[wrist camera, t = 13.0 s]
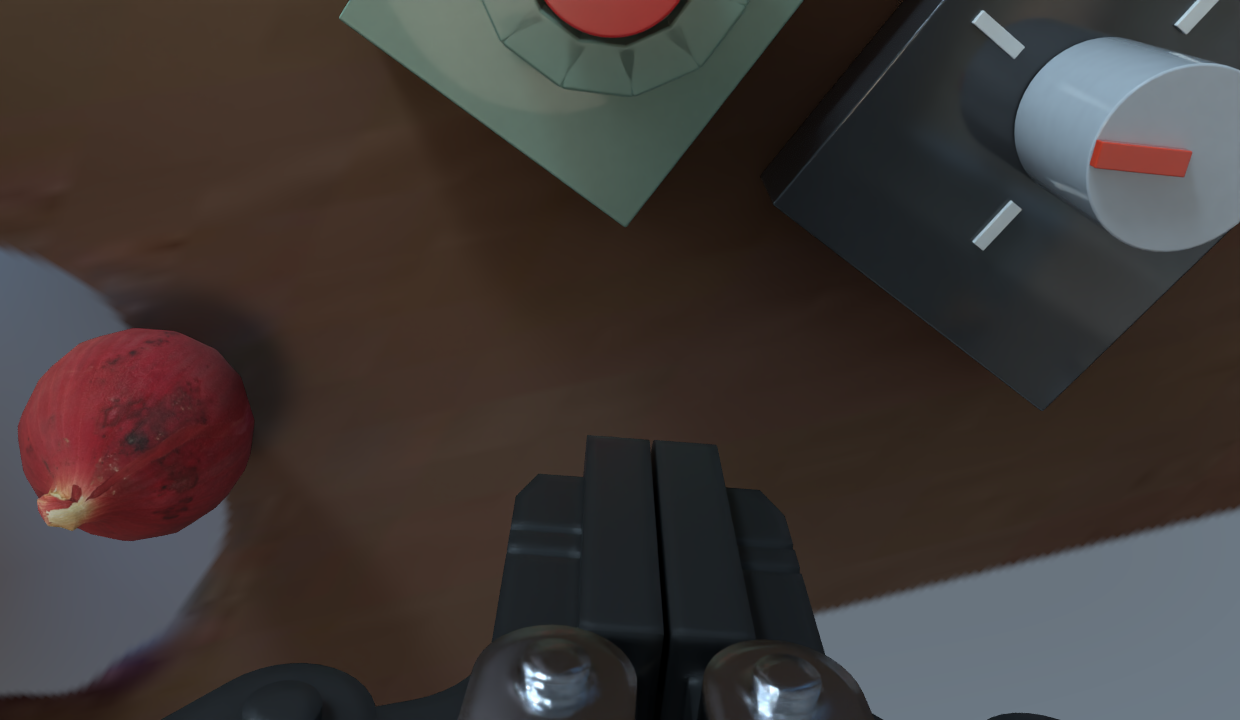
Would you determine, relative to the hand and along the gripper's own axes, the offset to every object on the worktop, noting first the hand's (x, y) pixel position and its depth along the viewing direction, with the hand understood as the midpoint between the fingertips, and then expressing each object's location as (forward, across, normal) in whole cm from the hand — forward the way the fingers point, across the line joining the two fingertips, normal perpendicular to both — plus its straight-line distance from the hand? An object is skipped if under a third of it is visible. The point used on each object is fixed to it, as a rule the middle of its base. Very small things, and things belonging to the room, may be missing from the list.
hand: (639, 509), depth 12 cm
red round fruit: (+19, +13, +8) cm, 24 cm away
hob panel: (+18, -12, -3) cm, 22 cm away
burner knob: (+15, -12, -3) cm, 19 cm away
